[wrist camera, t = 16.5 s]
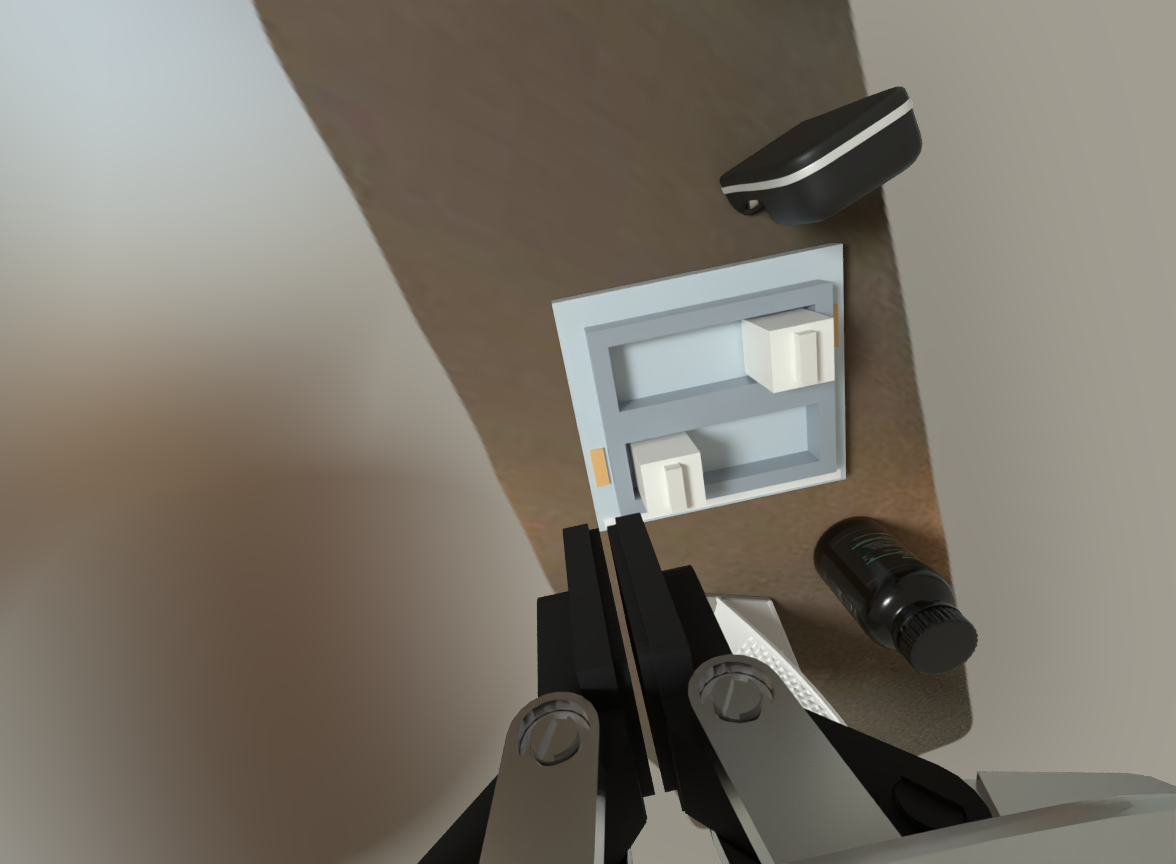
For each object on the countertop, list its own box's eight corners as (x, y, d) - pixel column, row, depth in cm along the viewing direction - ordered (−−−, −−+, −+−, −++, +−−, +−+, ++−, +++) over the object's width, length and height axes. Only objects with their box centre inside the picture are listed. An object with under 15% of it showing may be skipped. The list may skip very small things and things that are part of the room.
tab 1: (627, 437, 40) (642, 470, 35) (680, 425, 40) (703, 457, 35) (636, 484, 42) (651, 523, 36) (687, 473, 42) (710, 511, 36)
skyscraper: (698, 579, 48) (897, 1011, 22) (785, 584, 49) (1076, 1001, 23) (679, 656, 50) (835, 1118, 24) (762, 659, 52) (996, 1105, 26)
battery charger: (737, 232, 38) (818, 236, 27) (712, 180, 36) (787, 163, 26) (829, 173, 37) (949, 153, 26) (806, 117, 35) (924, 73, 25)
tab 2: (740, 317, 38) (774, 333, 33) (796, 306, 38) (840, 320, 33) (745, 372, 39) (778, 396, 34) (799, 361, 39) (841, 383, 34)
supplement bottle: (873, 582, 50) (973, 687, 38) (802, 580, 49) (882, 687, 38) (896, 516, 47) (1008, 607, 36) (821, 513, 46) (913, 605, 35)
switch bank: (551, 300, 38) (552, 307, 35) (831, 242, 38) (859, 244, 35) (597, 521, 45) (602, 545, 41) (836, 470, 45) (859, 490, 42)
